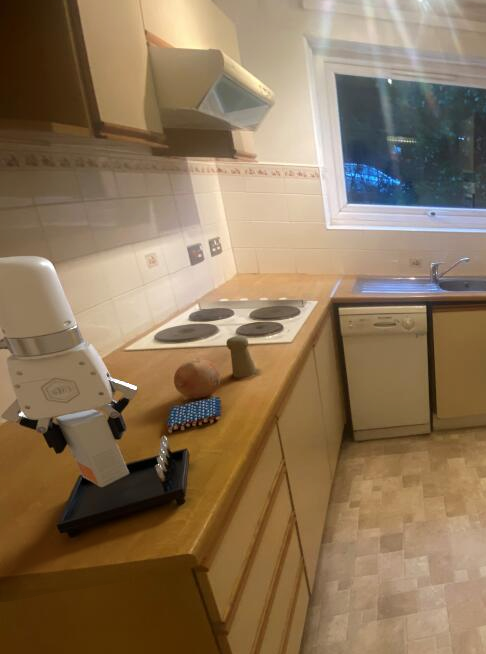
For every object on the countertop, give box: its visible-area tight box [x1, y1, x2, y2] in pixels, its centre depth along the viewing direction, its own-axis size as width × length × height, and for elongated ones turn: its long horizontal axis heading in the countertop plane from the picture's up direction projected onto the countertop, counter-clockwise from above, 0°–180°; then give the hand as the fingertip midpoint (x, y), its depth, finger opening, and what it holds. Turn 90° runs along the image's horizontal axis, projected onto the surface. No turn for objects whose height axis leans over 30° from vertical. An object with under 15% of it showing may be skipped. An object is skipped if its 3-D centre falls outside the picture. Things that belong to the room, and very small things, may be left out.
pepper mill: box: [226, 335, 258, 379], centre depth 123 cm, size 6×6×11 cm
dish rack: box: [55, 435, 190, 538], centre depth 76 cm, size 16×14×8 cm
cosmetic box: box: [55, 409, 129, 487], centre depth 72 cm, size 6×4×12 cm
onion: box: [173, 358, 221, 400], centre depth 110 cm, size 10×10×10 cm
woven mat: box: [165, 396, 222, 434], centre depth 102 cm, size 10×11×2 cm
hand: (91, 441), depth 71 cm, fingers closed on cosmetic box, 6 cm apart
